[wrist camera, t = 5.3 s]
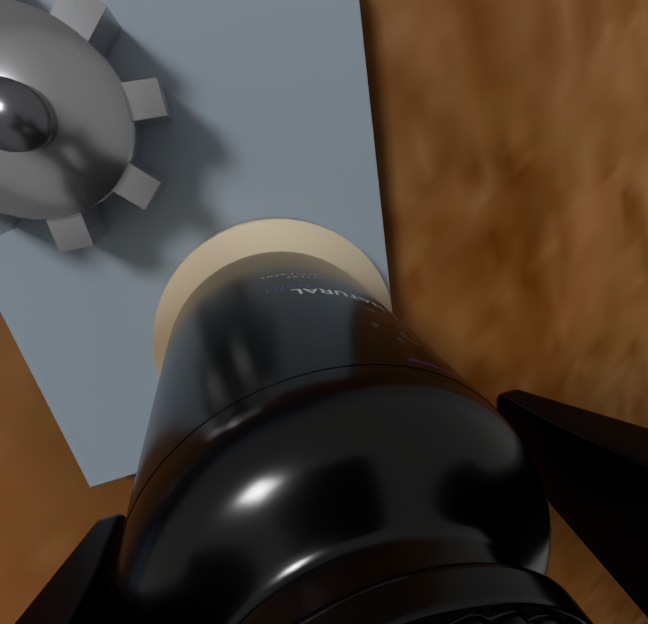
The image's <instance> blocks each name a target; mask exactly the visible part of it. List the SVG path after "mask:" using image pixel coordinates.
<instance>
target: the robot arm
mask: <svg viewBox="0 0 648 624" xmlns="http://www.w3.org/2000/svg"><path fill="white" fill-rule="evenodd" d="M497 411H498V412H499V413H500V414H501V415H502V416H503V417H504V418H505V419H506V420H507V421H508V422H509V423H510V424H511V426H512V427H513V428H514V429H515V430H516V432H517V433H518V434H519V436H520V437H521V438H522V440H523V441H524V443H525V444H526V446H527V448H528V450H529V451H530V453H531V455H532V457H533V459H534V461H535V464H536V466H537V469H538V471H539V474H540V476H541V479H542V482H543V485H544V489H545V494H546V498H547V500H548V501H549V503H550V504H551V505H552V506H553V507H554V509H555V510H556V511H557V512H558V513H559V514H560V516H561V517H562V518H563V519H564V520H565V521H566V523H567V524H568V525H569V526H570V527H571V528H572V530H573V531H574V532H575V533H576V534H577V535H578V537H579V538H580V539H581V540H582V541H583V542H584V544H585V545H586V546H587V547H588V548H589V550H590V551H591V552H592V553H593V554H594V555H595V557H596V558H597V559H598V560H599V561H600V562H601V564H602V565H603V566H604V567H605V568H606V569H607V571H608V572H609V573H610V574H611V575H612V576H613V578H614V579H615V580H616V581H617V582H618V583H619V585H620V586H621V587H622V588H623V589H624V590H625V592H626V593H627V594H628V595H629V596H630V597H631V599H632V600H633V601H634V602H635V603H636V605H637V606H638V607H639V608H640V609H641V610H642V612H643V613H644V614H645V615H646V616H647V617H648V428H644V427H641V426H638V425H634V424H631V423H628V422H624V421H621V420H618V419H614V418H611V417H607V416H604V415H601V414H597V413H594V412H591V411H587V410H584V409H581V408H577V407H574V406H571V405H567V404H564V403H561V402H557V401H554V400H550V399H547V398H544V397H540V396H537V395H534V394H530V393H527V392H524V391H520V390H511V391H507V392H504V393H501V394H500V395H499V396H498V398H497ZM125 519H126V517H125V516H124V515H123V514H115V515H112V516H109V517H106V518H103V519H100V520H99V521H97V522H96V524H95V525H94V526H93V527H92V528H91V530H90V531H89V532H88V533H87V535H86V536H85V537H84V538H83V540H82V541H81V542H80V543H79V545H78V546H77V547H76V548H75V550H74V551H73V552H72V553H71V554H70V556H69V557H68V558H67V559H66V561H65V562H64V563H63V564H62V566H61V567H60V568H59V569H58V571H57V572H56V573H55V574H54V576H53V577H52V578H51V579H50V581H49V582H48V583H47V584H46V586H45V587H44V588H43V589H42V590H41V592H40V593H39V594H38V595H37V597H36V598H35V599H34V600H33V602H32V603H31V604H30V605H29V607H28V608H27V609H26V610H25V612H24V613H23V614H22V615H21V617H20V618H19V619H18V620H17V621H16V623H15V624H115V622H114V612H113V584H114V577H115V570H116V564H117V559H118V553H119V547H120V542H121V537H122V532H123V527H124V523H125Z"/></svg>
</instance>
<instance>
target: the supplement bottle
mask: <svg viewBox="0 0 648 624" xmlns="http://www.w3.org/2000/svg"><path fill="white" fill-rule="evenodd" d="M550 545H551V525H550V515H549V507H548V502H547V498H546V494H545V489H544V485H543V482H542V479H541V476H540V474H539V471H538V469H537V466H536V464H535V461H534V459H533V457H532V455H531V453H530V451H529V450H528V448H527V446H526V444H525V443H524V441H523V440H522V438H521V437H520V436H519V434H518V433H517V432H516V430H515V429H514V428H513V427H512V426H511V424H510V423H509V422H508V421H507V420H506V419H505V418H504V417H503V416H502V415H501V414H500V413H499V412H498V411H497V410H496V409H495V408H494V407H493V406H492V405H491V404H490V403H489V402H488V401H487V400H486V399H485V398H484V397H483V396H482V395H481V394H480V393H479V392H478V391H476V390H475V389H474V388H473V387H472V386H471V385H470V384H469V383H468V382H467V381H466V380H464V379H463V378H462V377H461V376H460V375H459V374H458V373H457V372H456V371H455V370H454V369H452V368H451V367H450V366H449V365H448V364H447V363H446V362H445V361H444V360H443V359H441V358H440V357H439V356H438V355H437V354H436V353H435V352H434V351H433V350H432V349H431V348H429V347H428V346H427V345H426V344H425V343H424V342H423V341H422V340H421V339H420V338H418V337H417V336H416V335H415V334H414V333H413V332H412V331H411V330H410V329H409V328H408V327H406V326H405V325H404V324H403V323H402V322H401V321H400V320H399V319H398V318H397V317H395V316H394V315H393V314H392V313H391V312H390V311H389V310H388V309H387V308H386V307H385V306H383V305H382V304H381V303H380V302H379V301H378V300H377V299H376V298H375V297H374V296H372V295H371V294H370V293H369V292H368V291H367V290H366V289H365V288H364V287H363V286H361V285H360V284H359V283H358V282H357V281H356V280H354V279H353V278H352V277H351V276H349V275H348V274H347V273H346V272H344V271H343V270H341V269H340V268H338V267H336V266H335V265H333V264H331V263H329V262H327V261H325V260H323V259H320V258H317V257H315V256H311V255H307V254H303V253H297V252H284V251H278V252H266V253H259V254H255V255H251V256H247V257H244V258H242V259H239V260H236V261H234V262H232V263H230V264H228V265H226V266H224V267H222V268H221V269H219V270H217V271H216V272H214V273H213V274H212V275H210V276H209V277H208V278H206V279H205V280H204V281H203V282H202V283H201V284H200V285H199V286H198V287H197V288H196V289H195V290H194V291H193V292H192V293H191V295H190V296H189V297H188V299H187V300H186V302H185V303H184V305H183V306H182V308H181V310H180V312H179V314H178V316H177V318H176V320H175V322H174V325H173V328H172V331H171V334H170V338H169V341H168V344H167V348H166V352H165V356H164V360H163V365H162V369H161V373H160V377H159V381H158V385H157V390H156V394H155V398H154V402H153V406H152V410H151V415H150V419H149V423H148V427H147V431H146V435H145V440H144V444H143V448H142V452H141V456H140V460H139V465H138V469H137V473H136V477H135V481H134V485H133V490H132V494H131V498H130V502H129V506H128V511H127V515H126V519H125V523H124V527H123V532H122V537H121V542H120V547H119V553H118V559H117V564H116V570H115V577H114V584H113V612H114V622H115V624H593V623H592V622H591V620H590V619H589V618H588V617H587V615H586V614H585V613H584V612H583V610H582V609H581V608H580V607H579V605H578V604H577V603H576V602H575V600H574V599H573V598H572V597H571V596H570V595H569V593H568V592H567V591H566V590H565V589H564V588H563V587H562V586H560V585H559V584H558V583H557V582H555V581H554V580H552V579H550V578H549V577H547V576H546V573H547V569H548V563H549V556H550Z"/></svg>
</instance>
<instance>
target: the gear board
mask: <svg viewBox="0 0 648 624" xmlns="http://www.w3.org/2000/svg"><path fill="white" fill-rule="evenodd" d="M100 1H101V2H102V3H103V4H105V5H106V6H107V7H108V9H109V10H110V11H111V13H112V14H113V16H114V17H115V19H116V20H117V21H118V23H119V24H120V26H121V27H122V28H121V30H120V32H119V34H118V36H117V38H116V39H115V41H114V43H113V45H112V47H111V49H110V51H109V53H108V55H107V57H106V59H107V60H108V61H109V62H110V63H111V64H112V65H113V66H114V67H115V68H116V69H117V71H118V72H119V73H120V74H121V76H122V77H123V79H124V80H125V82H129V81H136V80H142V79H149V78H157V79H158V80H159V82H160V83H161V85H162V86H163V88H164V91H165V95H166V98H167V102H168V105H169V109H170V113H171V116H172V120H170V121H163V122H157V123H151V124H145V125H142V148H141V154H140V158H139V161H141V162H142V163H144V164H145V165H147V166H149V167H150V168H152V169H153V170H155V171H157V172H158V173H160V174H161V175H163V176H164V177H166V180H165V182H164V183H163V185H162V187H161V189H160V190H159V192H158V194H157V196H156V197H155V199H154V201H153V202H152V203H151V204H150V205H149V206H148V207H147V208H146V209H145V210H144V209H142V208H140V207H139V206H137V205H135V204H134V203H132V202H130V201H129V200H127V199H125V198H123V197H122V196H120V195H118V194H117V193H115V194H114V195H112V196H111V197H109V198H107V199H106V200H104V201H102V202H100V203H98V206H99V208H100V211H101V214H102V216H103V219H104V222H105V225H106V227H107V230H108V233H107V234H106V235H105V236H104V237H102V238H101V239H100V240H99V241H98V242H97V243H95V244H94V245H92V246H88V247H83V248H78V249H73V250H68V251H63V252H59V250H58V248H57V245H56V243H55V240H54V238H53V236H52V233H51V231H50V229H49V226H48V224H47V222H46V219H28V218H21V219H20V221H19V223H18V225H17V227H16V229H13V230H11V231H9V232H6V233H4V234H1V235H0V312H1V314H2V316H3V318H4V320H5V322H6V323H7V325H8V327H9V329H10V331H11V333H12V335H13V337H14V339H15V341H16V343H17V345H18V347H19V349H20V351H21V353H22V355H23V357H24V359H25V361H26V363H27V364H28V366H29V368H30V370H31V372H32V374H33V376H34V378H35V380H36V382H37V384H38V386H39V388H40V390H41V392H42V394H43V396H44V398H45V400H46V402H47V404H48V406H49V407H50V409H51V411H52V413H53V415H54V417H55V419H56V421H57V423H58V425H59V427H60V429H61V431H62V433H63V435H64V437H65V439H66V441H67V443H68V445H69V447H70V448H71V450H72V452H73V454H74V456H75V458H76V460H77V462H78V464H79V466H80V468H81V470H82V472H83V474H84V476H85V478H86V480H87V482H88V484H89V486H90V487H92V486H95V485H98V484H102V483H105V482H108V481H111V480H115V479H118V478H121V477H125V476H128V475H131V474H135V473H137V469H138V465H139V460H140V456H141V452H142V448H143V444H144V440H145V435H146V431H147V427H148V423H149V419H150V415H151V410H152V406H153V402H154V398H155V394H156V390H157V385H158V381H159V375H158V371H157V368H156V364H155V361H154V353H153V345H152V344H153V326H154V321H155V315H156V311H157V308H158V305H159V302H160V299H161V296H162V293H163V290H164V288H165V286H166V284H167V282H168V280H169V278H170V276H171V275H172V273H173V272H174V271H175V269H176V268H177V266H178V265H179V264H180V262H181V261H182V260H183V259H184V258H185V257H186V256H187V255H188V254H189V253H190V252H191V251H192V250H193V249H194V248H195V247H197V246H198V245H199V244H200V243H202V242H203V241H204V240H205V239H207V238H209V237H210V236H212V235H214V234H215V233H217V232H219V231H221V230H223V229H225V228H228V227H230V226H232V225H235V224H238V223H241V222H245V221H249V220H253V219H260V218H267V217H287V218H295V219H302V220H305V221H309V222H313V223H316V224H319V225H321V226H323V227H326V228H328V229H330V230H332V231H334V232H335V233H337V234H339V235H340V236H342V237H344V238H345V239H347V240H348V241H350V242H351V243H352V244H353V245H355V246H356V247H357V248H358V249H360V250H361V251H362V252H363V253H364V254H365V255H366V256H367V258H368V259H369V260H370V261H371V262H372V263H373V265H374V266H375V268H376V269H377V271H378V272H379V273H380V275H381V277H382V279H383V281H384V284H385V286H386V288H387V291H388V294H389V297H390V301H391V294H390V285H389V275H388V266H387V257H386V247H385V238H384V229H383V219H382V210H381V201H380V191H379V182H378V173H377V163H376V154H375V145H374V135H373V126H372V117H371V107H370V98H369V88H368V79H367V70H366V60H365V51H364V42H363V32H362V23H361V14H360V4H359V0H100ZM55 2H56V0H23V3H25V4H28V5H31V6H33V7H36V8H39V9H41V10H43V11H45V12H47V13H49V14H50V12H51V10H52V8H53V6H54V4H55ZM391 307H392V303H391Z"/></svg>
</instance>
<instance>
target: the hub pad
mask: <svg viewBox="0 0 648 624" xmlns="http://www.w3.org/2000/svg"><path fill="white" fill-rule="evenodd" d="M278 251H284V252H297V253H303V254H307V255H311V256H315V257H317V258H320V259H323V260H325V261H327V262H329V263H331V264H333V265H335V266H336V267H338V268H340V269H341V270H343V271H344V272H346V273H347V274H348V275H349V276H351V277H352V278H353V279H354V280H356V281H357V282H358V283H359V284H360V285H361V286H363V287H364V288H365V289H366V290H367V291H368V292H369V293H370V294H371V295H372V296H374V297H375V298H376V299H377V300H378V301H379V302H380V303H381V304H382V305H383V306H385V307H386V308H387V309H388V310H389V311H390V312H391V313H392V307H391V301H390V297H389V294H388V291H387V288H386V286H385V284H384V281H383V279H382V277H381V275H380V273H379V272H378V271H377V269H376V268H375V266H374V265H373V263H372V262H371V261H370V260H369V259H368V258H367V256H366V255H365V254H364V253H363V252H362V251H361V250H360V249H358V248H357V247H356V246H355V245H353V244H352V243H351V242H350V241H348V240H347V239H345V238H344V237H342V236H340V235H339V234H337V233H335V232H334V231H332V230H330V229H328V228H326V227H323V226H321V225H319V224H316V223H313V222H309V221H305V220H302V219H295V218H287V217H267V218H260V219H253V220H249V221H245V222H241V223H238V224H235V225H232V226H230V227H228V228H225V229H223V230H221V231H219V232H217V233H215V234H214V235H212V236H210V237H209V238H207V239H205V240H204V241H203V242H202V243H200V244H199V245H198V246H197V247H195V248H194V249H193V250H192V251H191V252H190V253H189V254H188V255H187V256H186V257H185V258H184V259H183V260H182V261H181V262H180V264H179V265H178V266H177V268H176V269H175V271H174V272H173V273H172V275H171V276H170V278H169V280H168V282H167V284H166V286H165V288H164V290H163V293H162V296H161V299H160V302H159V305H158V308H157V311H156V315H155V321H154V326H153V344H152V345H153V353H154V361H155V364H156V368H157V371H158V375H159V377H160V373H161V369H162V365H163V360H164V356H165V352H166V348H167V344H168V341H169V338H170V334H171V331H172V328H173V325H174V322H175V320H176V318H177V316H178V314H179V312H180V310H181V308H182V306H183V305H184V303H185V302H186V300H187V299H188V297H189V296H190V295H191V293H192V292H193V291H194V290H195V289H196V288H197V287H198V286H199V285H200V284H201V283H202V282H203V281H204V280H205V279H206V278H208V277H209V276H210V275H212V274H213V273H214V272H216V271H217V270H219V269H221V268H222V267H224V266H226V265H228V264H230V263H232V262H234V261H236V260H239V259H242V258H244V257H247V256H251V255H255V254H259V253H266V252H278ZM392 314H393V313H392Z"/></svg>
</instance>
